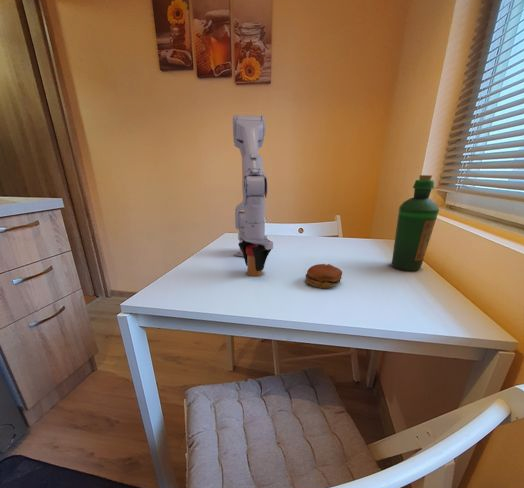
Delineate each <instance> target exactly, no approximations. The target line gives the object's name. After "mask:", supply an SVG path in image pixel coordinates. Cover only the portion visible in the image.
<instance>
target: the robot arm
mask: <svg viewBox="0 0 524 488" xmlns="http://www.w3.org/2000/svg"><path fill="white" fill-rule="evenodd" d="M265 136H266V117H265V115H248V114H247V115H243V114H235V113H234V114H233V116H232V137H233V139H232V140H233V145H234V147H235V148H237V149H238V150H239V151H240V155H241V180H242V181H241V185H242V186H241V193H242V201H241V202H239V203H238V204H237V205H236V206H235V208H234V212H235V213H234V225H235V229H236V230H237V231H238V234H237V237H238V238H237V239H238V240H239V241H238V248H239V251H238V252H236V253H234V256H237V257H241V258H242V257H243V259H244V263H245V266H246V267H247V254H246V246H249V245H258V247H253V248H252V251H253V253H254V257H255V265H256V270H257V271H260V270H262V271H264V268H265V264H266V261H267V258H268V257H269V254H270V253H271V251H272V250H273V249H274V241H271V240H270V239H269V238H268V235H266V234H265V233H266V199H267V197H268V191H269V190H268V189H269V188H268V187H269V186H268V178H267V175H266V172H265V170H264V169H265V168H264V159H263V156H262V155H261V154H259V149H260V148H262V147H263V144H264V140H265Z"/></svg>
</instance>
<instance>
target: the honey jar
mask: <svg viewBox="0 0 524 488" xmlns="http://www.w3.org/2000/svg"><path fill="white" fill-rule="evenodd" d="M246 267H247V268H246V269H247V271H246V272H247V275H248V276H251V277H259V276H262V275H263V270H260V271H257V270H256V265H255V257H254V256H251V255H247V266H246Z"/></svg>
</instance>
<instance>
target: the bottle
mask: <svg viewBox="0 0 524 488" xmlns="http://www.w3.org/2000/svg"><path fill="white" fill-rule="evenodd" d="M432 178H433V175H430V174H429V175H428V174H420V175H419V179H416V180H415V181H414V184H413V186H412V189H413V190H414V191H413V197H411V198H408V199H406V200H405V201H403V202H402V203H401V204H400V206H398V207H399V208H398V215H397V221H396V228H395V235H394V242H393V243H394V244H393V252H392V257H391V266H392V267H394V268H396V269H397V270H400V271H406V272H407V271H408V272H413V271H419V270H421V269H422V265H423V262H424V259H425V256H426V253H427V249H428V247H429V243H430V240H431V237H432V233H433V231H434V227H435V224H436V221H437V218H438V216H439V215H438V214H439V212H440V209H439V206H438V204H437V203H436V202H435V201H434V200H433V199H431V198H430V196H431V192H432V190H434V189H435V180H434V179H432Z"/></svg>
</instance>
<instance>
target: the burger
mask: <svg viewBox="0 0 524 488" xmlns="http://www.w3.org/2000/svg"><path fill="white" fill-rule="evenodd" d="M342 276H343V271H342V269H340V268H339V267H338V266H334V265H332V264H330V263H327V264H326V263H319V264H314V265H312V266H310V267H309V268H308V269H307V271H306V273H305V279H306V283H307V284H308V285H309V286H312V287H315V288H319V289H330V288H333V287H335V286H336V285H338V284H339V283H341V280H342Z"/></svg>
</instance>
